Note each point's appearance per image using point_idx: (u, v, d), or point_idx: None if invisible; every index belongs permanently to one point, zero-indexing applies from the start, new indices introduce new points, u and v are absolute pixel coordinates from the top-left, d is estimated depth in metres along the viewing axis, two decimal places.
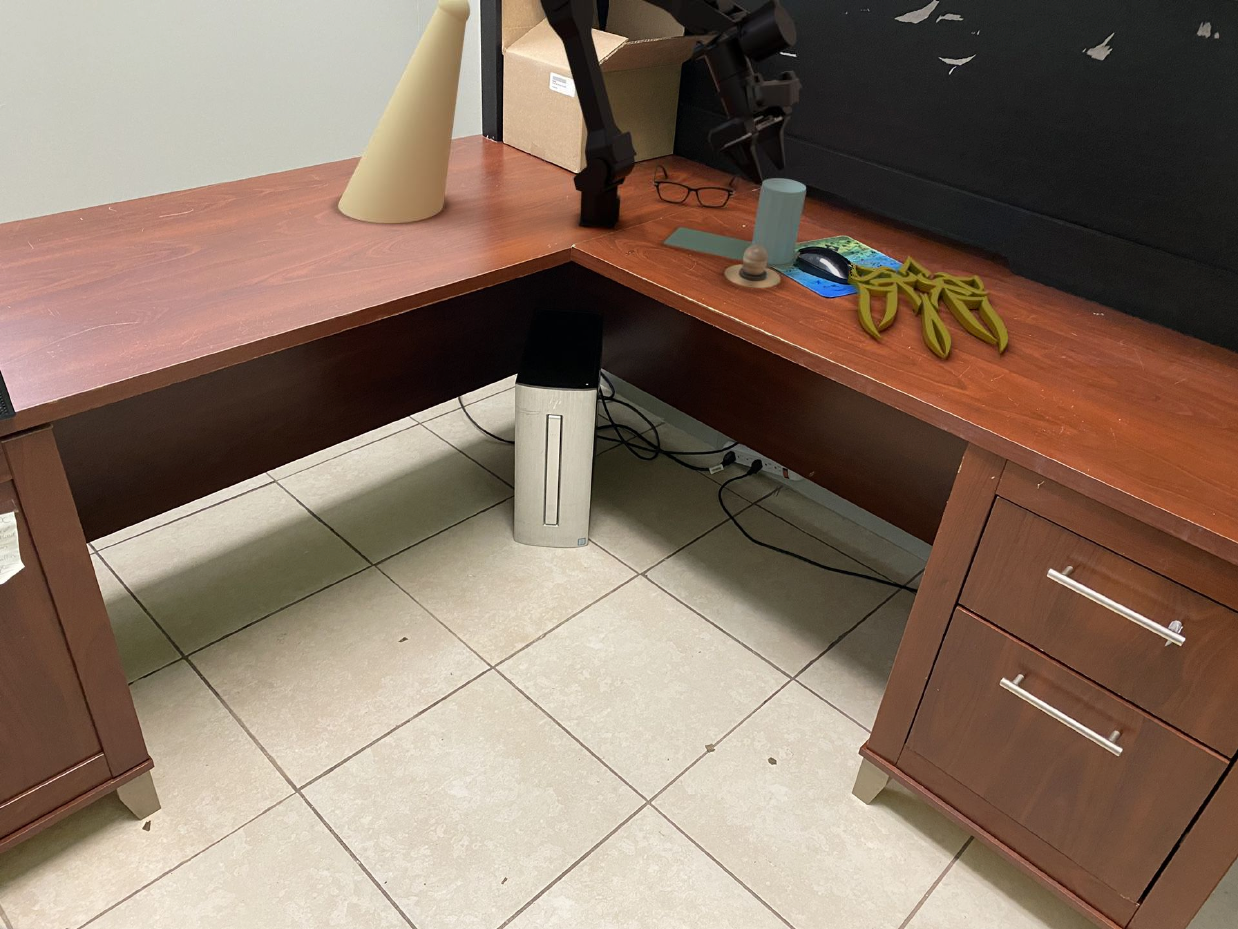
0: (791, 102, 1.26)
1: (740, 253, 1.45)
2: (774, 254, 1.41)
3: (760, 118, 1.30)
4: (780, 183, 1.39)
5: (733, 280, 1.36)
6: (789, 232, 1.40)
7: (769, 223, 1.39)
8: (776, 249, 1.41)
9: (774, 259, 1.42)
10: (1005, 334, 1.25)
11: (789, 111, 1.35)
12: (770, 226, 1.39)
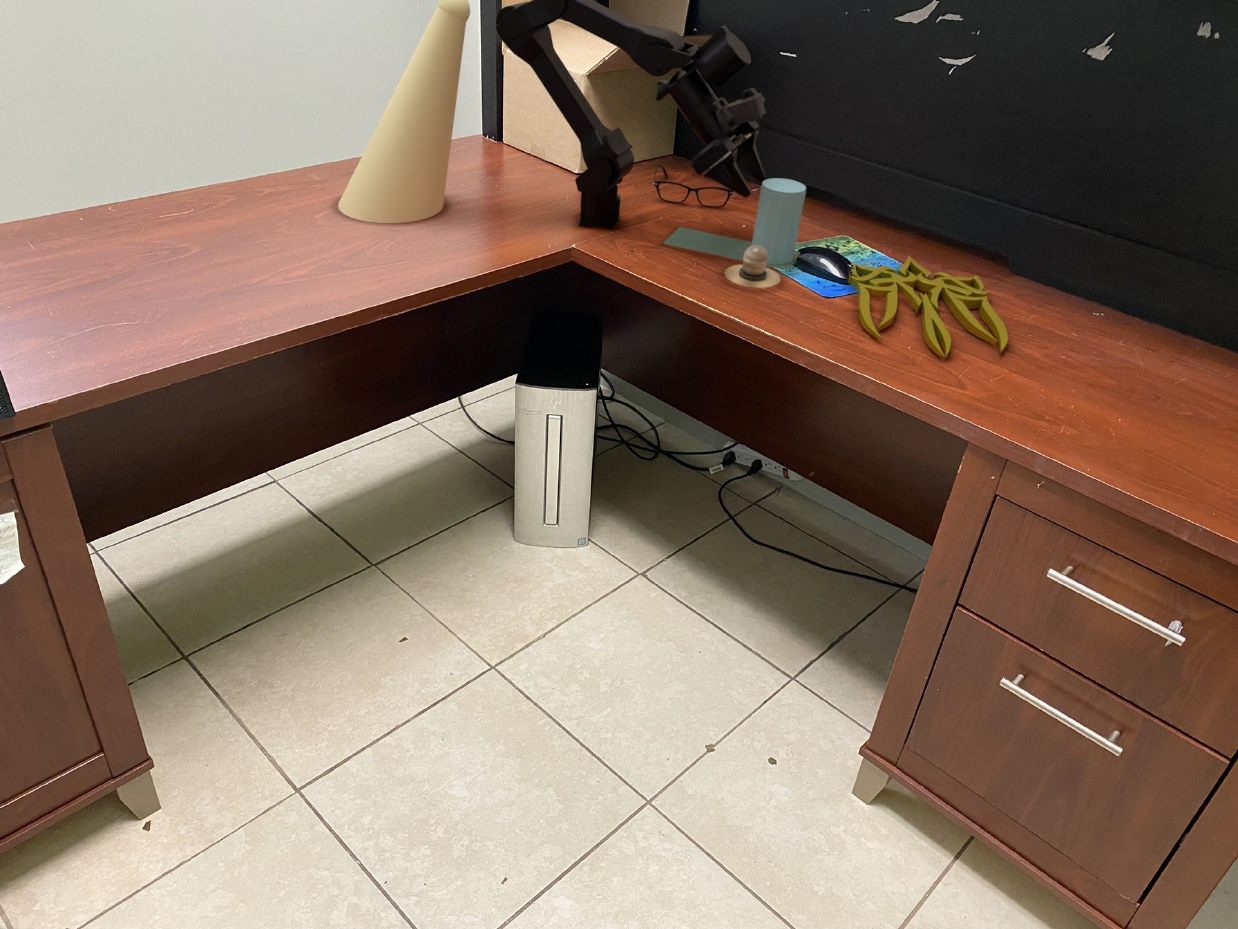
0: (760, 114, 1.33)
1: (740, 253, 1.45)
2: (774, 254, 1.41)
3: (733, 137, 1.37)
4: (780, 183, 1.39)
5: (733, 280, 1.36)
6: (789, 232, 1.40)
7: (769, 223, 1.39)
8: (776, 249, 1.41)
9: (774, 259, 1.42)
10: (1005, 334, 1.25)
11: (756, 126, 1.43)
12: (770, 226, 1.39)
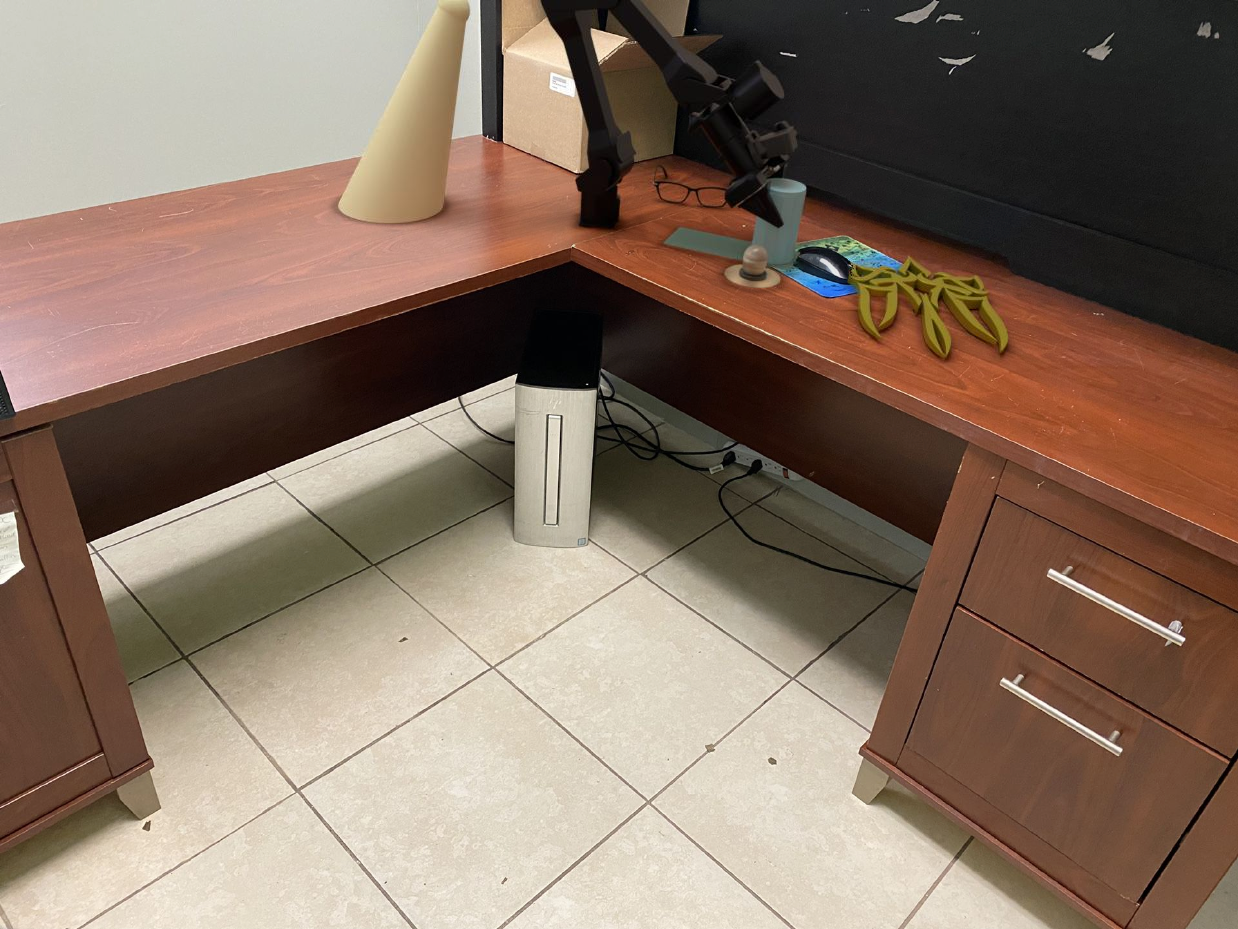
0: (793, 148, 1.34)
1: (740, 253, 1.45)
2: (774, 254, 1.41)
3: (766, 168, 1.39)
4: (780, 183, 1.39)
5: (733, 280, 1.36)
6: (789, 232, 1.40)
7: (769, 223, 1.39)
8: (776, 249, 1.41)
9: (774, 259, 1.42)
10: (1005, 334, 1.25)
11: (786, 157, 1.43)
12: (770, 226, 1.39)
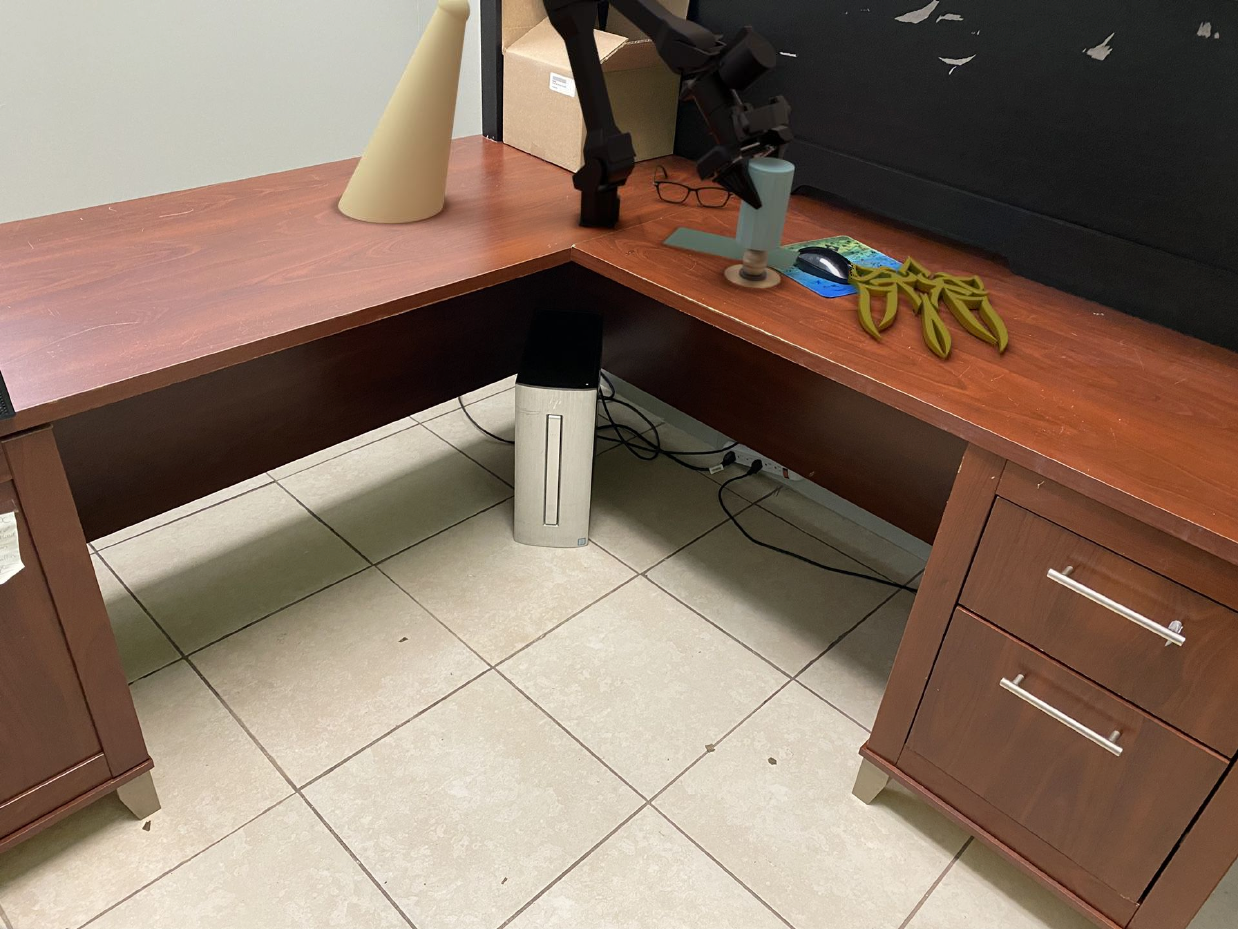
0: (777, 123, 1.23)
1: (740, 253, 1.45)
2: (753, 238, 1.31)
3: (756, 145, 1.29)
4: (768, 162, 1.29)
5: (733, 280, 1.36)
6: (770, 216, 1.29)
7: None
8: (755, 233, 1.31)
9: (753, 243, 1.32)
10: (1005, 334, 1.25)
11: (789, 137, 1.32)
12: (749, 207, 1.29)
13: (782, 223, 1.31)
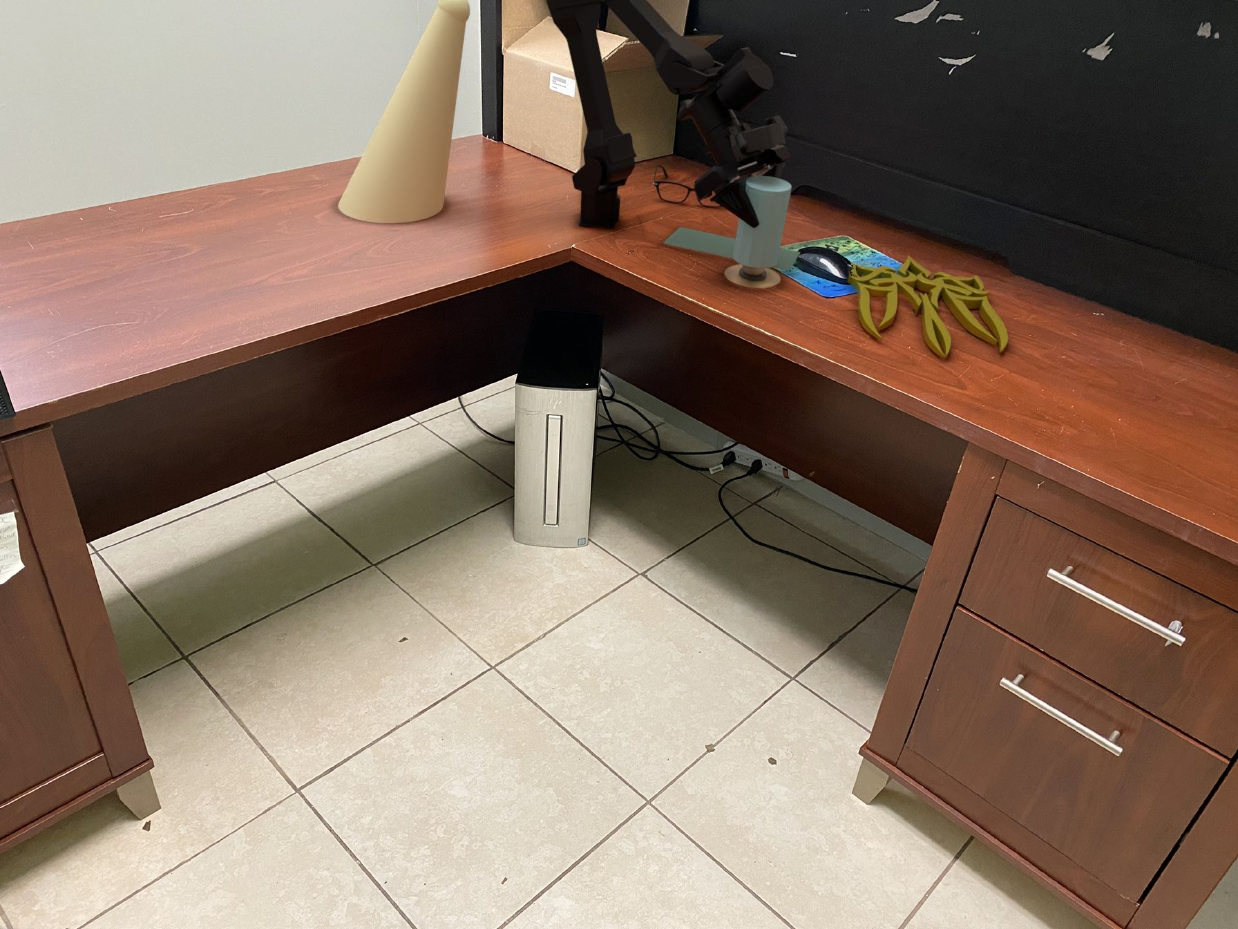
0: (773, 144, 1.25)
1: None
2: (750, 255, 1.33)
3: (753, 164, 1.31)
4: (765, 181, 1.30)
5: (733, 280, 1.36)
6: (767, 234, 1.31)
7: None
8: (752, 251, 1.32)
9: (750, 261, 1.33)
10: (1005, 334, 1.25)
11: (786, 156, 1.34)
12: (747, 225, 1.31)
13: (779, 241, 1.33)
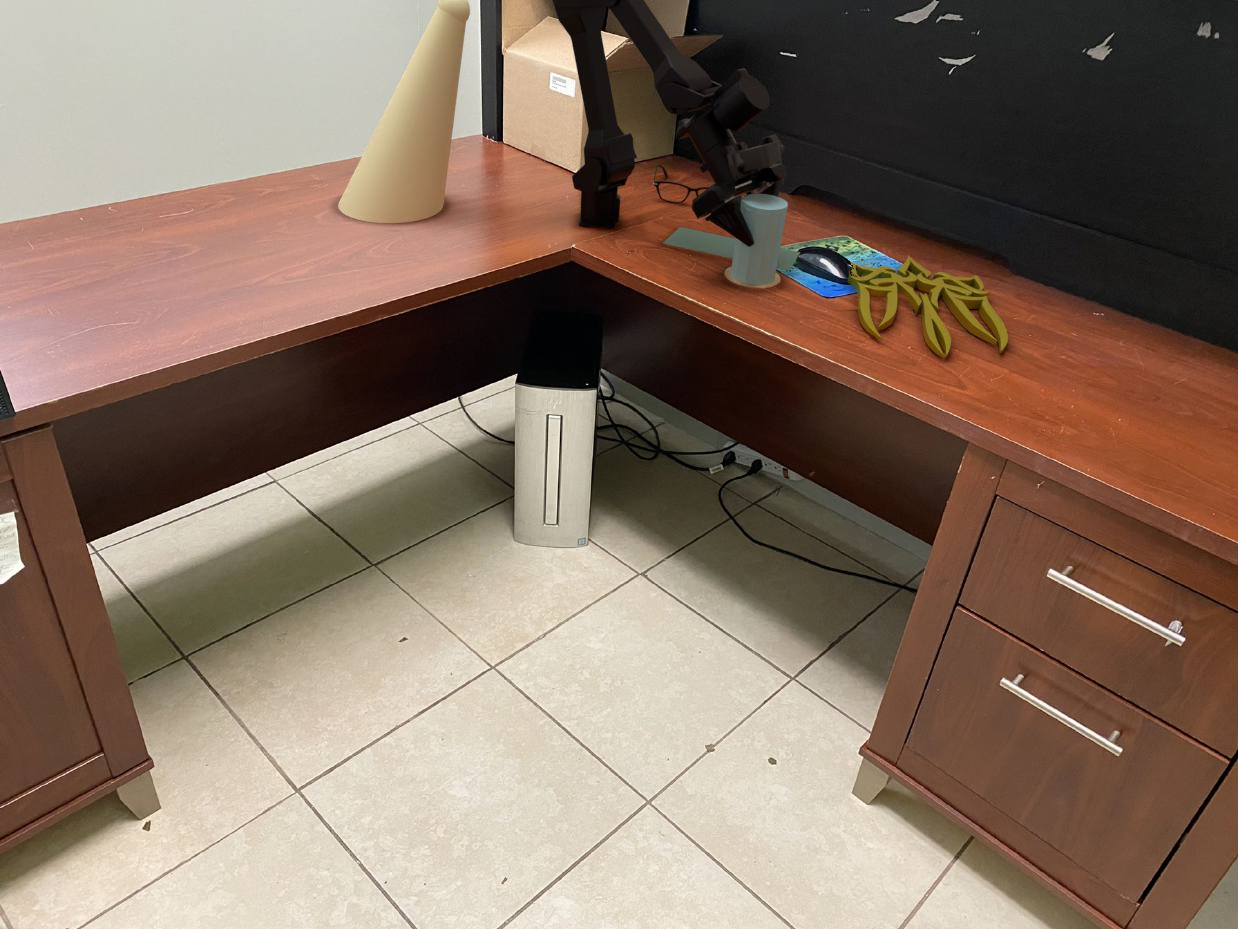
0: (770, 163, 1.26)
1: None
2: (748, 272, 1.34)
3: (748, 183, 1.32)
4: (762, 199, 1.32)
5: (733, 280, 1.36)
6: (764, 251, 1.32)
7: None
8: (750, 268, 1.34)
9: (748, 278, 1.35)
10: (1005, 334, 1.25)
11: (783, 174, 1.36)
12: None
13: (776, 258, 1.34)
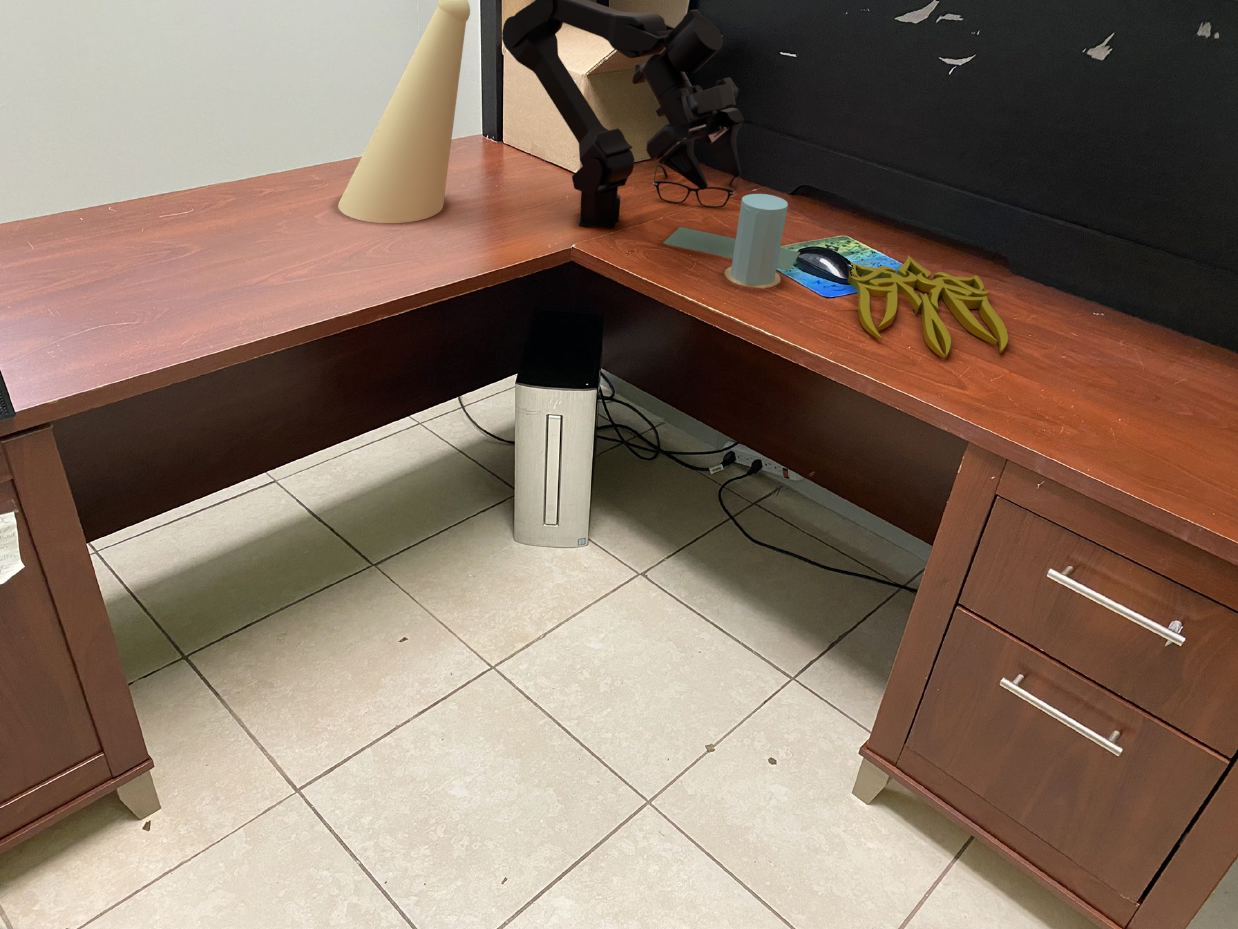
0: (723, 104, 1.27)
1: None
2: (748, 272, 1.34)
3: (702, 127, 1.32)
4: (762, 199, 1.32)
5: (733, 280, 1.36)
6: (764, 251, 1.32)
7: (743, 239, 1.32)
8: (750, 268, 1.34)
9: (748, 278, 1.35)
10: (1005, 334, 1.25)
11: (739, 119, 1.37)
12: (744, 243, 1.32)
13: (776, 258, 1.34)
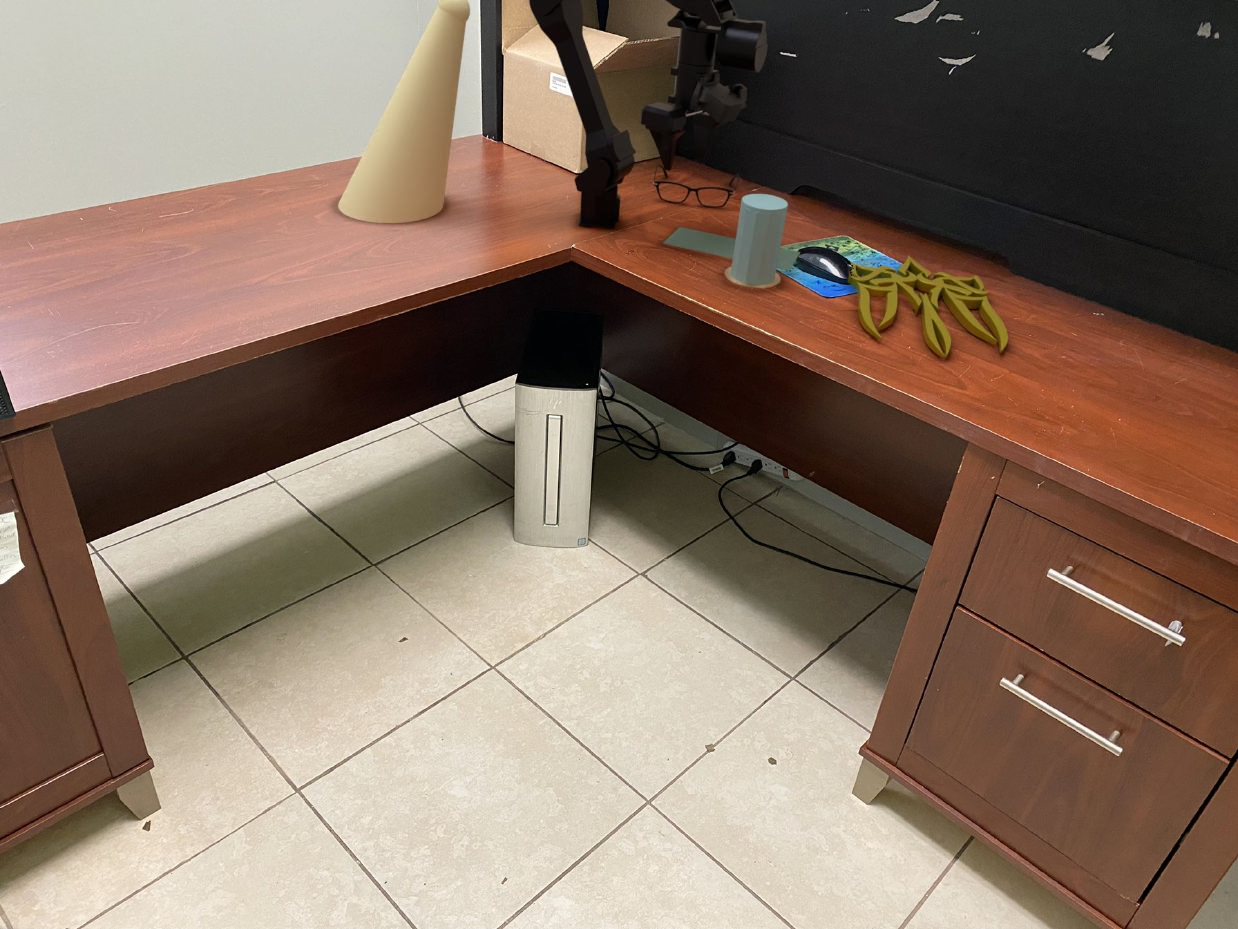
0: (725, 121, 1.32)
1: None
2: (748, 272, 1.34)
3: (698, 113, 1.36)
4: (762, 199, 1.32)
5: (733, 280, 1.36)
6: (764, 251, 1.32)
7: (743, 239, 1.32)
8: (750, 268, 1.34)
9: (748, 278, 1.35)
10: (1005, 334, 1.25)
11: None
12: (744, 243, 1.32)
13: (776, 258, 1.34)
